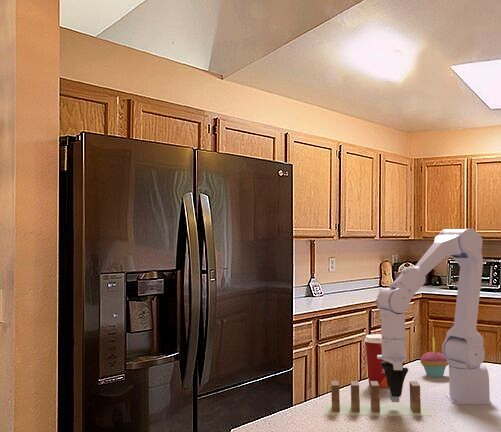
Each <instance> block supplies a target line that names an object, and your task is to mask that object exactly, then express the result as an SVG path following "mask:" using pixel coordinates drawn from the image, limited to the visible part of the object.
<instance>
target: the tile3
mask: <svg viewBox="0 0 501 432" xmlns="http://www.w3.org/2000/svg"><path fill="white" fill-rule="evenodd" d="M369 387H370V388H369V389H370V390H369V392H370V393H369V394H370V404H371V409H372V412H380V405H381V402H380V401H381V400H380V399H381V397H380V396H381V394H380V391H381V390H380V388H379V384H378V381H370V386H369Z"/></svg>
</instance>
